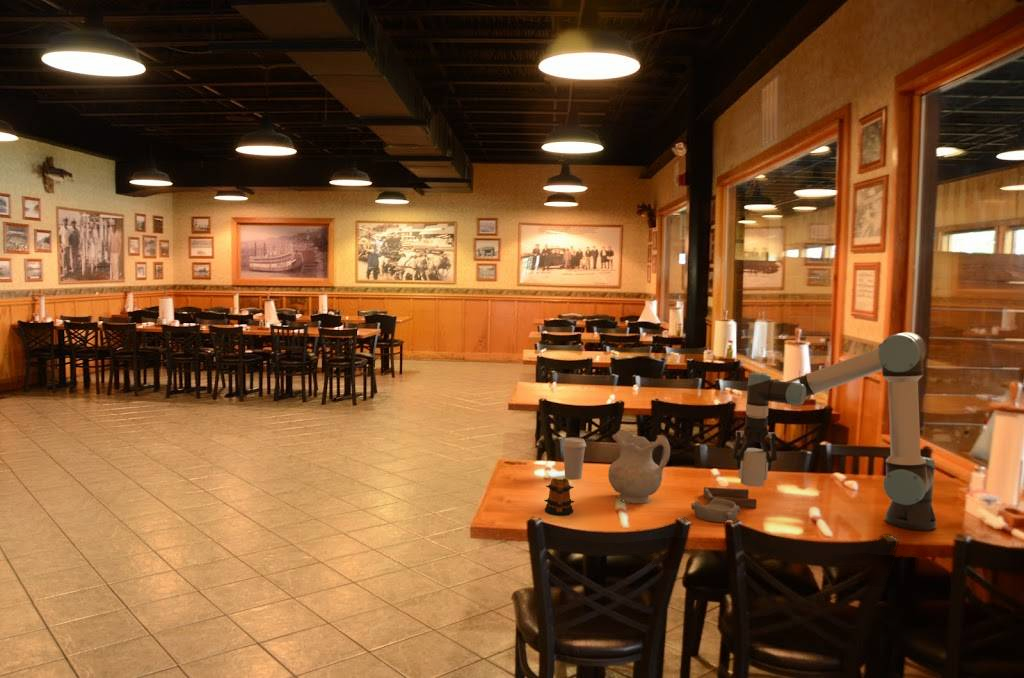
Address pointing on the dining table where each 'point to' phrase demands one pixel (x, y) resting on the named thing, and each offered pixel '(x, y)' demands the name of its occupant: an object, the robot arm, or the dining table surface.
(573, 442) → the coffee cup
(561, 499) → the brown tiered piece
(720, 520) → the dish
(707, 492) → the u rest
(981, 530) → the dining table surface
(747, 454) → the cup
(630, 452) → the ceramic pitcher
